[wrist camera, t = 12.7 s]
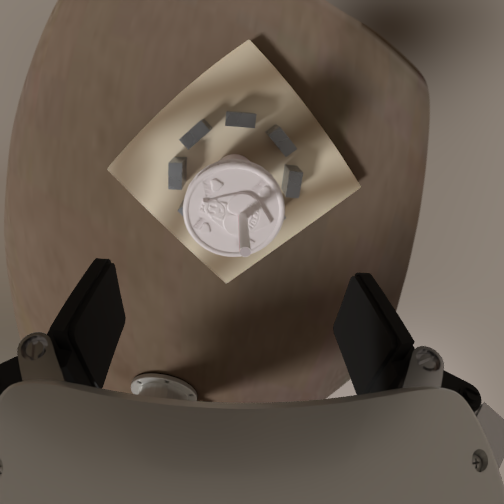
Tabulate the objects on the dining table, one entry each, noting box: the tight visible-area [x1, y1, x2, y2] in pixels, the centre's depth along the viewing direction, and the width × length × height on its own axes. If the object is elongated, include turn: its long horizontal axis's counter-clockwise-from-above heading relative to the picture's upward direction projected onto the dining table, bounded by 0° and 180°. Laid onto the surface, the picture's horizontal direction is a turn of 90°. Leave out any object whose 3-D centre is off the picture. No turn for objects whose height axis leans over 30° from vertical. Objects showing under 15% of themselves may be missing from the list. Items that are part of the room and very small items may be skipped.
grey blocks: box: [168, 111, 303, 219], centre depth 24 cm, size 11×11×2 cm
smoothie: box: [183, 154, 285, 257], centre depth 19 cm, size 6×6×14 cm
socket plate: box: [107, 40, 361, 284], centre depth 26 cm, size 18×18×2 cm
